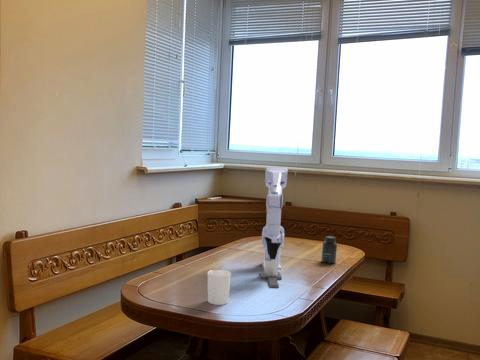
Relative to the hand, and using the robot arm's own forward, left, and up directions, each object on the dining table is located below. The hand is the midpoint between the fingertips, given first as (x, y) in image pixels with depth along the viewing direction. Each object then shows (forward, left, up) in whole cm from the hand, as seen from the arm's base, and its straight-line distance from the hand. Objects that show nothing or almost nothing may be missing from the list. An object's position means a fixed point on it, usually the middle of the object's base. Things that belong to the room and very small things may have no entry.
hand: (271, 256), depth 200 cm
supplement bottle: (-29, +30, -8) cm, 43 cm away
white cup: (+34, -21, -8) cm, 41 cm away
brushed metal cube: (0, 0, -7) cm, 7 cm away
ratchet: (+6, 0, -8) cm, 10 cm away
